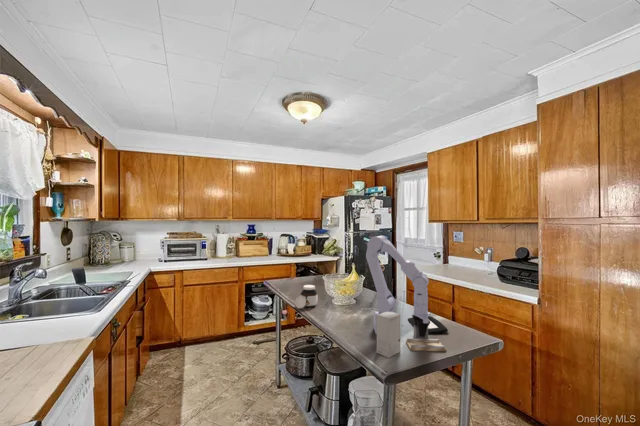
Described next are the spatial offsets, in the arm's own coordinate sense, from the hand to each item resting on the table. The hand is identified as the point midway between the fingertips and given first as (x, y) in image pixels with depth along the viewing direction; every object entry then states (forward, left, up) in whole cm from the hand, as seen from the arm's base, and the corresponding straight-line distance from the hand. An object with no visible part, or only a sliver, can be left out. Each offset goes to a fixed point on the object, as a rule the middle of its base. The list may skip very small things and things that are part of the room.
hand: (420, 334), depth 126 cm
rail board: (-1, -8, -2) cm, 8 cm away
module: (0, 0, -2) cm, 2 cm away
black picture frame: (+7, +15, -2) cm, 17 cm away
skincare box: (-17, -14, -2) cm, 22 cm away
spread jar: (-54, +41, -2) cm, 68 cm away
